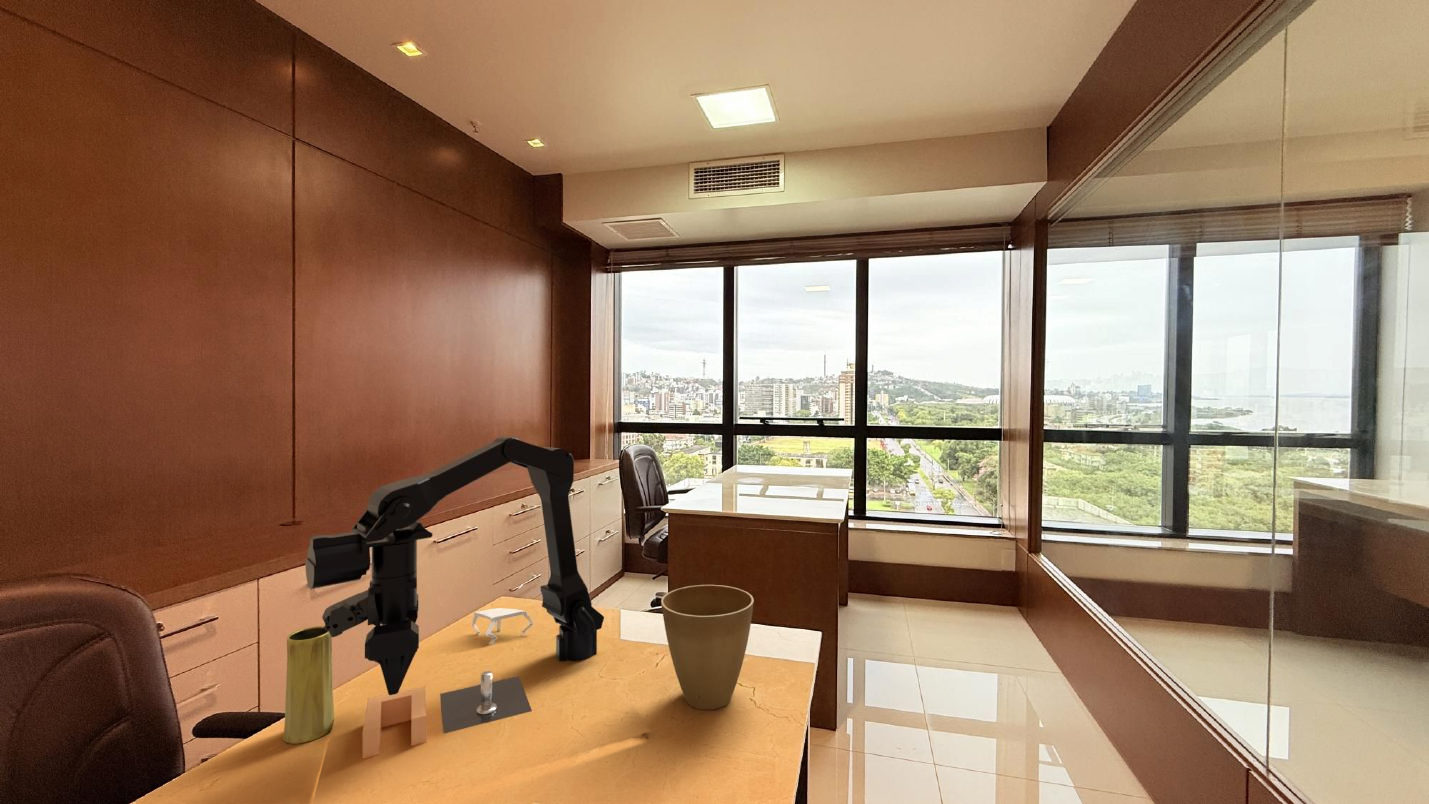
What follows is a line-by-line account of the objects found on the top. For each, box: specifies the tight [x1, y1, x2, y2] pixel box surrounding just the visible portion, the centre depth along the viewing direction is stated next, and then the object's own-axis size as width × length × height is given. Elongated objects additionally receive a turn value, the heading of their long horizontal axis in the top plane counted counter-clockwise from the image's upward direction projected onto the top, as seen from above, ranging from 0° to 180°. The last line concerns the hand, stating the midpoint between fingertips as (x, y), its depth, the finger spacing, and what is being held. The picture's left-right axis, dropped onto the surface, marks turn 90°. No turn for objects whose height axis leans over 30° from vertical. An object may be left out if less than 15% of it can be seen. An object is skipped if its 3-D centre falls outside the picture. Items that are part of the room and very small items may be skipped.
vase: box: [282, 625, 335, 745], centre depth 80 cm, size 6×6×14 cm
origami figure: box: [472, 607, 535, 645], centre depth 113 cm, size 12×8×5 cm
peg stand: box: [440, 670, 533, 734], centre depth 86 cm, size 12×12×6 cm
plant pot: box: [660, 584, 754, 711], centre depth 89 cm, size 15×15×16 cm
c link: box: [362, 685, 427, 759], centre depth 78 cm, size 7×9×4 cm
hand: (394, 679), depth 81 cm, fingers open, 9 cm apart
